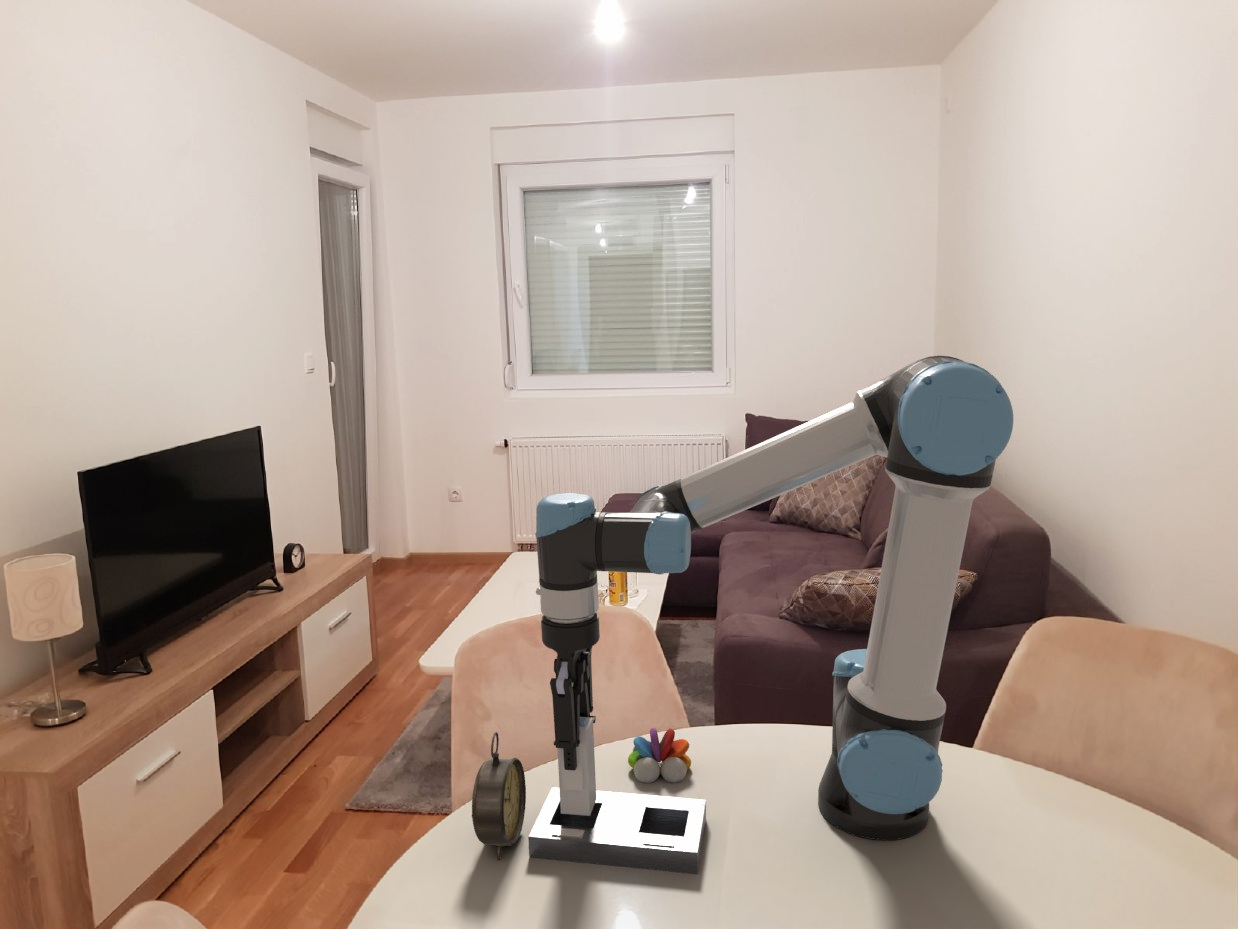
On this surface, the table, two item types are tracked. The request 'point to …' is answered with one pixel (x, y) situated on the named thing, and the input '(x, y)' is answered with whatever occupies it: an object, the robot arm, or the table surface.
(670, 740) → the rainbow petal toy
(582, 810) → the plug
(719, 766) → the table surface
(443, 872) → the table surface
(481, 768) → the alarm clock
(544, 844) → the panel
